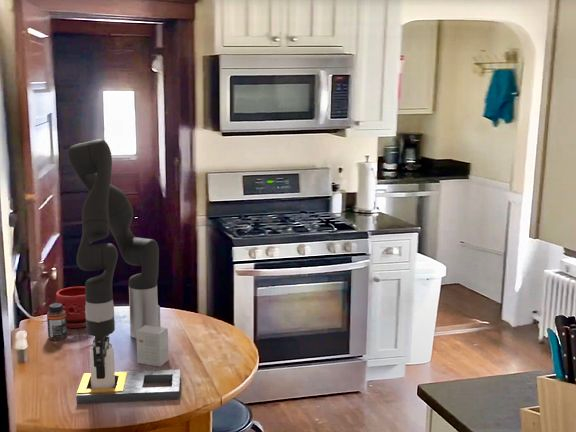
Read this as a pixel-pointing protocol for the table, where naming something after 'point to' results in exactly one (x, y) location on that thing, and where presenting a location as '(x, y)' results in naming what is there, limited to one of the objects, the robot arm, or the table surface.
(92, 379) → the can
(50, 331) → the supplement bottle
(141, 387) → the grey slotted tray
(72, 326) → the plant pot
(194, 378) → the table surface
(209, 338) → the table surface
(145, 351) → the small box
